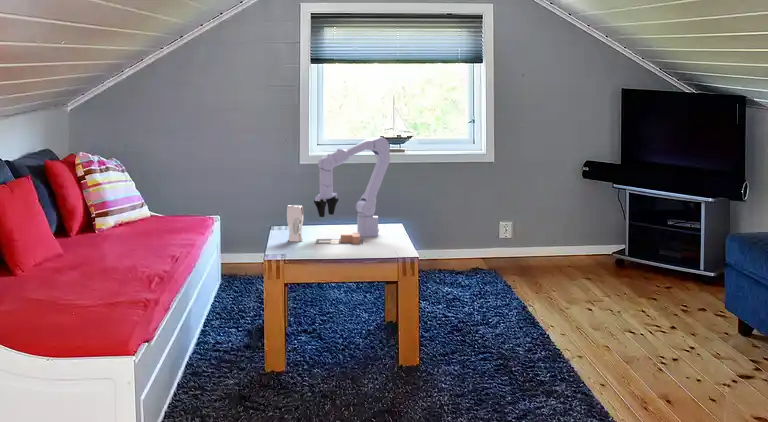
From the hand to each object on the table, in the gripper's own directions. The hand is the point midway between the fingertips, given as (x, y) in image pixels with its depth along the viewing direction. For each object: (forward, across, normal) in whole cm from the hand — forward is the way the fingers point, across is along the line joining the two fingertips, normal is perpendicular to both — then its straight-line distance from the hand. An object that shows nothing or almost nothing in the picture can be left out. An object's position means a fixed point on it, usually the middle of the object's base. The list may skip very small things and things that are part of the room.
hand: (326, 215), depth 325 cm
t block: (+9, +4, +15) cm, 18 cm away
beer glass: (+10, +13, -8) cm, 18 cm away
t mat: (+10, +7, +11) cm, 16 cm away
